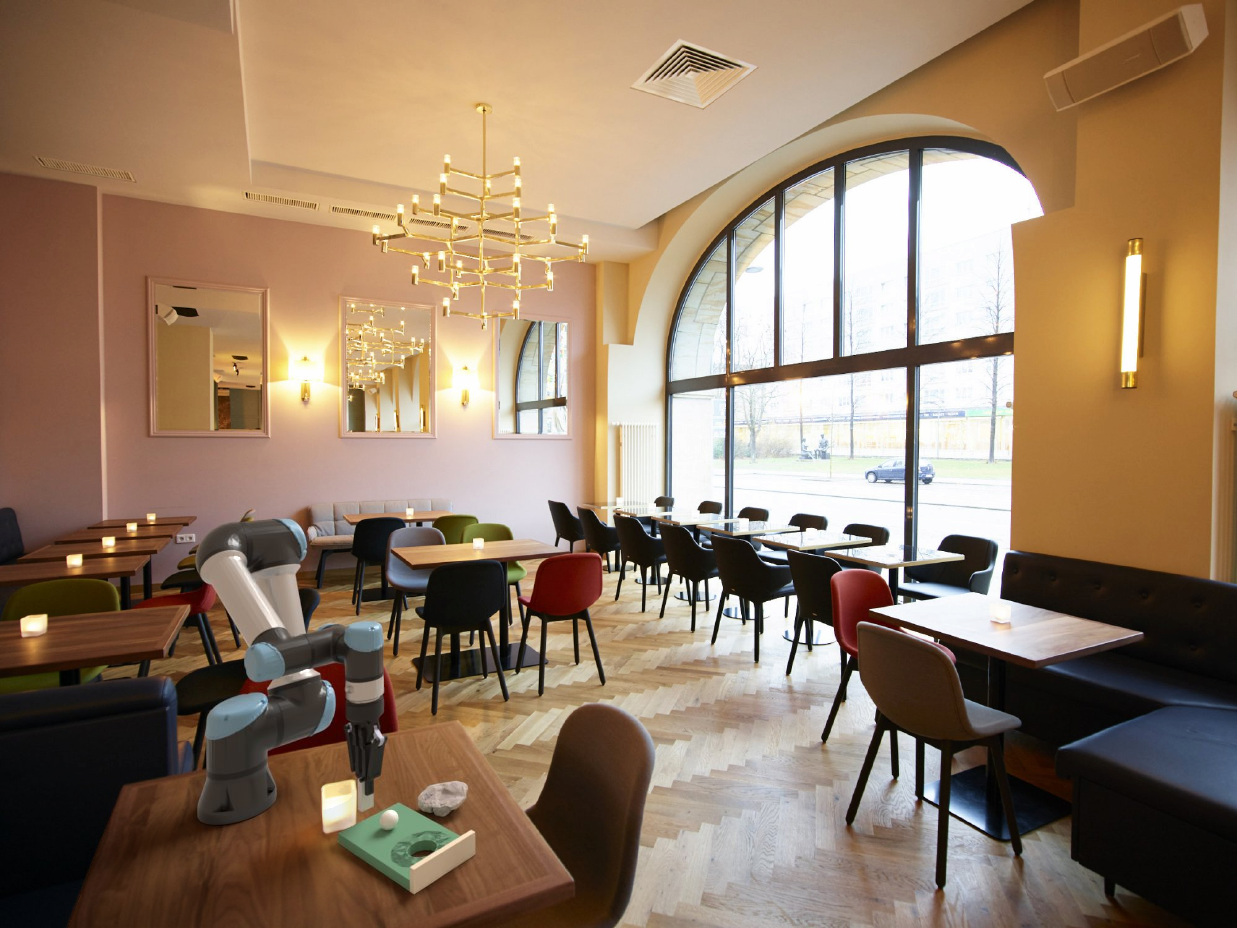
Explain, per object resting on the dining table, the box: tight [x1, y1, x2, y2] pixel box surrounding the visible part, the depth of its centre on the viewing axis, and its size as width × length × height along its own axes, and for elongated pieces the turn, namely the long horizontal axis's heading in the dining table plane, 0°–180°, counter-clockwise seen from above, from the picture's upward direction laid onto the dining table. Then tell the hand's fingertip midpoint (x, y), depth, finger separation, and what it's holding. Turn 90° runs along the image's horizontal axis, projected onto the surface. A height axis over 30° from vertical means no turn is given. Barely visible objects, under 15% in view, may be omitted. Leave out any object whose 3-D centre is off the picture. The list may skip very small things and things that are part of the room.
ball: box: [380, 810, 398, 830], centre depth 128 cm, size 4×4×4 cm
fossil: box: [416, 780, 469, 817], centre depth 139 cm, size 9×6×10 cm
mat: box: [337, 802, 476, 895], centre depth 125 cm, size 25×14×4 cm, turn 53°
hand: (365, 807), depth 133 cm, fingers closed
